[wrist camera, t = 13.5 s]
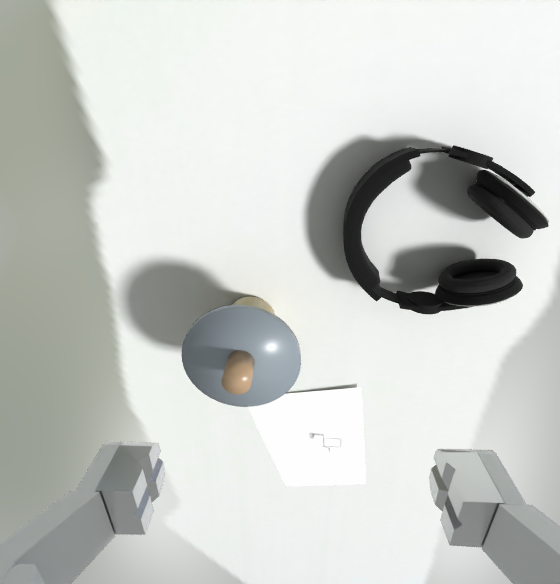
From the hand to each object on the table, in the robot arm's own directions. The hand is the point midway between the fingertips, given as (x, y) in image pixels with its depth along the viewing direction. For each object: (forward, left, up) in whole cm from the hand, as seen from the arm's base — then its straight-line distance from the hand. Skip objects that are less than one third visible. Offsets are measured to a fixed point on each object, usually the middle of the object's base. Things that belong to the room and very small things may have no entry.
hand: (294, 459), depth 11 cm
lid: (+15, -6, -26) cm, 30 cm away
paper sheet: (+38, -3, -35) cm, 52 cm away
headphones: (+3, +15, -35) cm, 38 cm away
